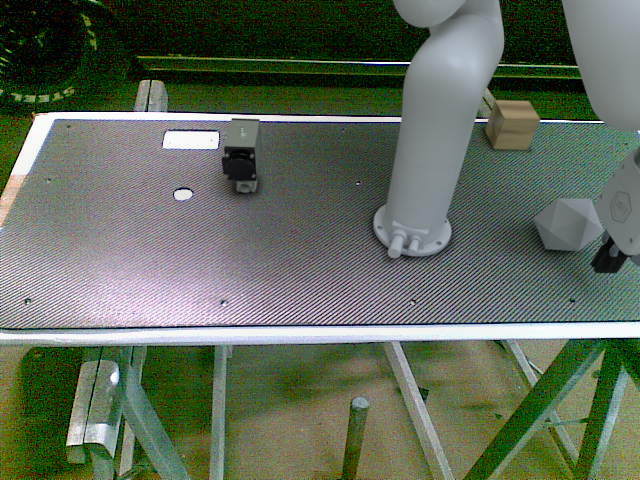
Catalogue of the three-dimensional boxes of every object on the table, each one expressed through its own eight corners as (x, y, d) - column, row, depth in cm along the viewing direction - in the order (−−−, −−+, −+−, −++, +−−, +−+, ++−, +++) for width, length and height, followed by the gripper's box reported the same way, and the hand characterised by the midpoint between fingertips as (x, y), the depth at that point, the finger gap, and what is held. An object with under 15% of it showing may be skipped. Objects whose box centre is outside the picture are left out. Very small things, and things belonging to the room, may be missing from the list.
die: (579, 274, 73) (628, 222, 70) (538, 247, 71) (586, 192, 68) (551, 250, 81) (593, 203, 78) (513, 225, 79) (555, 175, 75)
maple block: (527, 150, 96) (540, 119, 91) (493, 149, 96) (504, 118, 91) (517, 131, 101) (528, 101, 96) (484, 130, 100) (494, 99, 96)
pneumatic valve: (263, 166, 88) (260, 108, 80) (257, 208, 80) (252, 148, 71) (233, 165, 88) (227, 107, 80) (224, 207, 80) (216, 147, 71)
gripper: (611, 124, 59) (556, 232, 72) (677, 202, 48) (599, 312, 61) (671, 125, 59) (606, 232, 72) (750, 202, 48) (657, 312, 61)
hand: (603, 268), depth 66 cm, fingers closed
